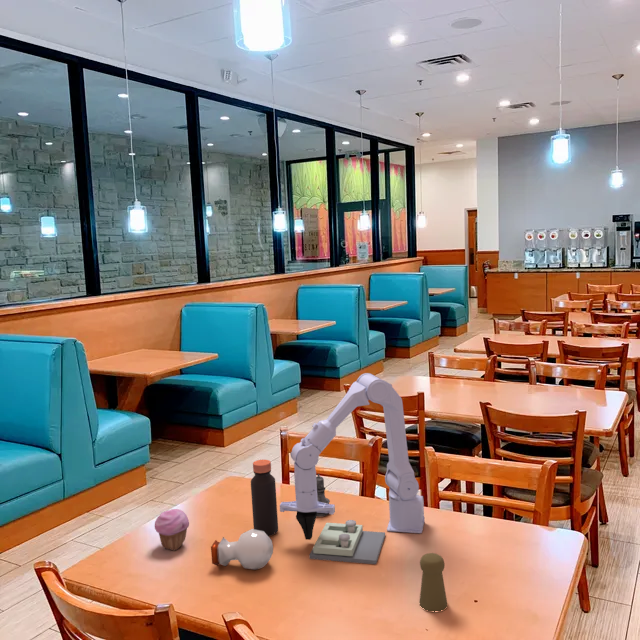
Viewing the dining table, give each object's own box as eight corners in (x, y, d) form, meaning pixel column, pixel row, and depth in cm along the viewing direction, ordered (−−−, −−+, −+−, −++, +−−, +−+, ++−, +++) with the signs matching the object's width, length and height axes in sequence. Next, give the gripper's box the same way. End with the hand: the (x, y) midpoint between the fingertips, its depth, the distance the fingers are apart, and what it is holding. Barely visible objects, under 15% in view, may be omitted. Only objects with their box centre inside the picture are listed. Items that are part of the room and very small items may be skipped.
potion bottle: (276, 575, 152) (218, 580, 154) (279, 538, 159) (223, 543, 161) (266, 557, 146) (205, 563, 148) (269, 519, 153) (211, 525, 155)
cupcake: (150, 550, 165) (147, 514, 163) (172, 536, 172) (169, 502, 171) (176, 557, 160) (173, 520, 159) (197, 542, 168) (194, 507, 167)
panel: (313, 553, 156) (313, 547, 156) (326, 528, 170) (326, 522, 169) (352, 556, 154) (351, 550, 153) (362, 530, 167) (362, 525, 167)
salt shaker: (328, 517, 179) (326, 477, 178) (308, 516, 180) (306, 477, 179) (332, 509, 185) (330, 470, 183) (312, 508, 186) (310, 469, 185)
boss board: (309, 558, 156) (308, 540, 156) (324, 531, 170) (323, 514, 170) (376, 564, 152) (375, 545, 151) (385, 535, 166) (384, 518, 166)
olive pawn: (416, 597, 137) (414, 550, 135) (443, 595, 137) (441, 548, 136) (423, 613, 131) (421, 564, 129) (451, 611, 131) (449, 562, 130)
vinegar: (280, 526, 175) (276, 458, 173) (276, 537, 169) (271, 466, 166) (256, 526, 176) (252, 458, 174) (251, 537, 169) (246, 467, 167)
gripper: (336, 483, 164) (338, 532, 166) (284, 481, 168) (286, 529, 169) (330, 494, 157) (333, 545, 159) (276, 492, 161) (279, 541, 162)
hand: (308, 537), depth 164 cm, fingers closed
